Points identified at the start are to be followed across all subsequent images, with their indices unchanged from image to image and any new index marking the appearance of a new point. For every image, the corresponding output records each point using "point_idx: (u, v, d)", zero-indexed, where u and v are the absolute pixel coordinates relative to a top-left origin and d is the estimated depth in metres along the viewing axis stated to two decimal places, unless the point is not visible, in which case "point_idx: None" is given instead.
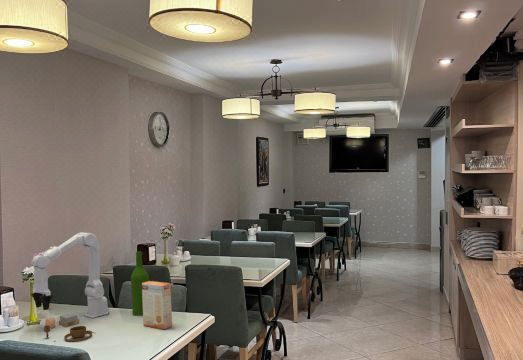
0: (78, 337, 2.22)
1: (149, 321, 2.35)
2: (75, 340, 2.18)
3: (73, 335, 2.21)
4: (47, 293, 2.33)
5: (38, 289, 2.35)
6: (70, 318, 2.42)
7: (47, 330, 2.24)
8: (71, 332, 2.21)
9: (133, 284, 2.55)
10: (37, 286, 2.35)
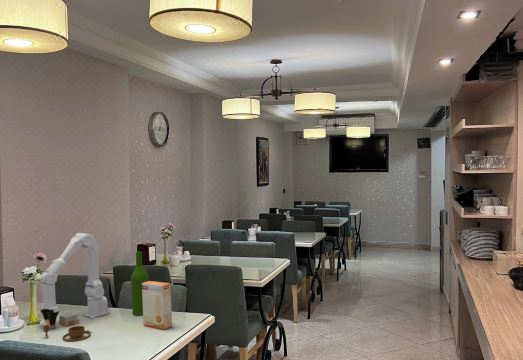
0: (76, 337, 2.22)
1: (149, 321, 2.35)
2: (73, 340, 2.19)
3: (71, 335, 2.21)
4: (55, 309, 2.36)
5: (46, 305, 2.38)
6: (70, 318, 2.43)
7: (46, 330, 2.25)
8: (69, 332, 2.22)
9: (133, 284, 2.55)
10: (45, 302, 2.38)
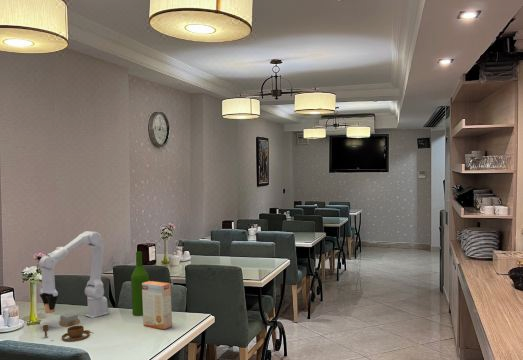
0: (75, 337, 2.22)
1: (149, 321, 2.35)
2: (72, 340, 2.19)
3: (70, 335, 2.21)
4: (54, 293, 2.35)
5: (45, 290, 2.38)
6: (71, 317, 2.43)
7: (45, 329, 2.25)
8: (68, 332, 2.22)
9: (133, 284, 2.55)
10: (44, 287, 2.38)
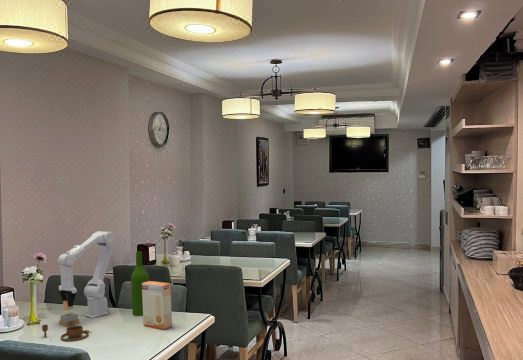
0: (74, 337, 2.22)
1: (149, 321, 2.35)
2: (70, 340, 2.19)
3: (69, 335, 2.22)
4: (73, 291, 2.39)
5: (64, 287, 2.42)
6: (71, 317, 2.43)
7: (45, 329, 2.26)
8: (67, 332, 2.22)
9: (133, 284, 2.55)
10: (63, 284, 2.42)
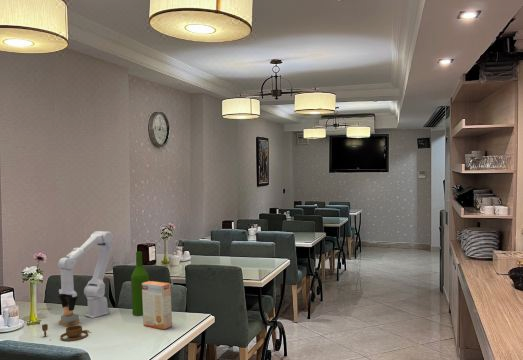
0: (73, 337, 2.23)
1: (149, 321, 2.35)
2: (70, 340, 2.19)
3: (68, 334, 2.22)
4: (74, 294, 2.40)
5: (65, 290, 2.42)
6: (71, 318, 2.43)
7: (45, 329, 2.26)
8: (67, 331, 2.23)
9: (133, 284, 2.55)
10: (64, 287, 2.42)
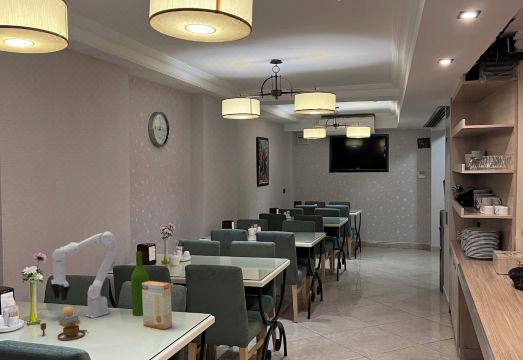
0: (70, 336, 2.23)
1: (149, 321, 2.35)
2: (66, 339, 2.20)
3: (65, 334, 2.23)
4: (65, 284, 2.49)
5: (57, 281, 2.51)
6: (71, 318, 2.42)
7: (43, 327, 2.28)
8: (63, 331, 2.24)
9: (133, 284, 2.55)
10: (56, 278, 2.51)
